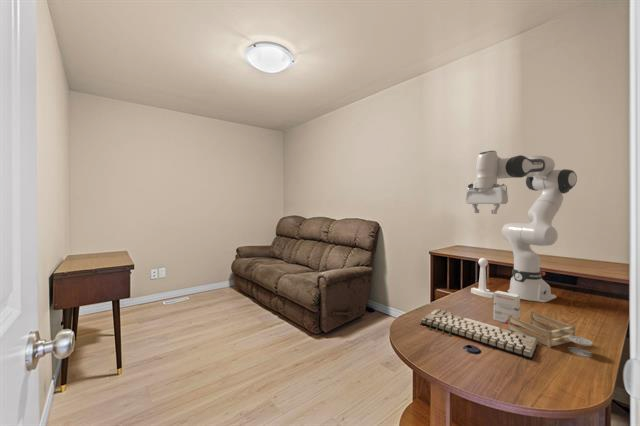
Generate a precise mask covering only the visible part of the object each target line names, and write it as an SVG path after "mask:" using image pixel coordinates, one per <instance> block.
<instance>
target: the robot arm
mask: <svg viewBox="0 0 640 426" xmlns="http://www.w3.org/2000/svg"><path fill="white" fill-rule="evenodd" d="M497 154H498V153H497V151H496V150H488V151H482V152H480V153H478V154H477V158H476V164H475V171H476V177H475V180H474V181H473V182H470V183H468V184H467V185H466V189H467V190H466V192H465V202H466V204H468V205H471V206H472V208H473V213H474V214H480V209H479V208H478V206H479V205H493V207H494V208H493V209H491V213H490V214H491V215H497V214H498V209H499V208H500V207H501V205H506V204H507V203H508V202H509V195H508V186H507V185H506V184H504V183H498V179H499V180H500V179H511V178H513V179H514V178H516V179H518V178H519V179H520V178H524V177H525V178H526V179H525V185H526V187H527V188H528V189H529V190H531V191H540V192H541V194H540V195H539V196H538V197H537V198H536V199H535V201H534V202H533V203H532V205H531V206H530V208H529V209H528V211H527V217H528V220H529V221H530V222H510V223H505V224H504V225H503V226H502V229H501V236H502V237H503V239H504V240H505V241H506V242H507V243H508V244H509V246H510V248H511V250H512V254H513V268H512V270H511V271H512V276H511V278H510V283H509V289H507V293H511V294H516V295H520V300H526V301H532V302H538V303H539V302H540V303H546V302H547V303H548V302H549V301H552V300H554V299H557V295H555V294H554V293H551V291H552V290H551V286H550V285H549V283H548V282H546V281H545V280H544V279H543V277H544V276H545V275H546V272H545V271H541V258H540V255H539V254H538V253H537V252H536V251H534V250H533V249H532V247H531V245H532V246H538V247H542V246H543V247H545V246H548V247H549V246H552V245H555V243H556V242H557V241H558V238H559V233H558V231H557V230H556V228H555V227H554V226H553V225H552V224H553V223H552V222H553V220H554V218H555V216H556V215H557V213H558V212H559V211H560V208H561V207H562V204H563V201H564V194H567V193H569V192H570V190H572V189H573V188H574V187H575V186H576V185H577V181H578V179H577V178H578V176H577V173H576V172H575V171H574V170H571V169H568V168H567V169H565V168H564V169H555V166H556V163H555V160H554V159H553V158H551V157H549V156H547V155H530V156H525V155H523V154H522V155H521V154H519V155H516V156H510V157H503V158H502V157H499V156H498V155H497ZM542 276H543V277H542Z"/></svg>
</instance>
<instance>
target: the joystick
mask: <svg viewBox="0 0 640 426" xmlns="http://www.w3.org/2000/svg"><path fill="white" fill-rule="evenodd" d="M477 263H478V265H479V267H480V268H479V279H478V288H477V287H471V288H470V293H471V294H474V295H477V296H480V297H484V298H489V299H494V292H495V291H494V292H493V291H491V290H490V289H487V275H486V274H487V272H486V267H487V266H488V264H489V261H488V259H487V258H484V257H480V258H479V259H478V261H477Z"/></svg>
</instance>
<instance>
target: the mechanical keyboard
mask: <svg viewBox="0 0 640 426" xmlns="http://www.w3.org/2000/svg"><path fill="white" fill-rule="evenodd" d="M420 323H421V324H420ZM420 323H419V324H420V325H419V326H421V325H422V326H426V327H423V328H422V329H425V328H426V330H428V331H432V332H435V333H438V334H440V335H444V336H447V337H451V338H454V339H459V340H460V341H464V342H468V343H471V344H473V345H476V346H480V347H484V348H487V349H490V350H492V351H500V352H503V353H506V354H509V355H513V356H516V357H518V358H521V359H524V360H526V361H527V360H528V361H532V362H533V360H534V357H535V355H536V352H537V349H536V348H537V347H536V346H537V344H538V342H537V340H536V338H534V337H530V336H524V335H523V334H519V333H516V332H514V331H512V330H508V329H504V328H501V327H499V326H495V325H491V324H489V323H485V322H481V321H477V320H476V319H471V318H466V317H464V318H463V317H462V316H458V315H453V313H452V311H446V310H444V309H442V310H441V309H440V308H436V309H434V310H433V311H432V312H430V313H428V314H426V315H425V316H424V317H422V318H421V320H420Z"/></svg>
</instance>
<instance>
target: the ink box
mask: <svg viewBox="0 0 640 426" xmlns="http://www.w3.org/2000/svg"><path fill="white" fill-rule="evenodd" d="M520 308H521V299H520V295H516V294H511V293H509V292H508V291H507V292H506V291H502V290H496V291H494V296H493V309H492V310H493V311H492V312H493V315H492V316H493V317H492V318H493V319H492V320H493V321H496V322H501V323H504V324H508V315H511V316H512V317H514V318H516V319H519V320H521V319H520V315H521V309H520ZM512 325H514V326H517V327H519V325H516V324H514V323H512Z"/></svg>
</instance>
